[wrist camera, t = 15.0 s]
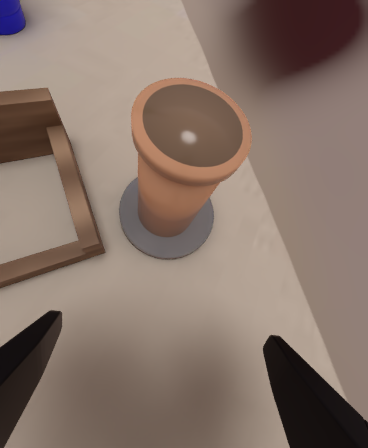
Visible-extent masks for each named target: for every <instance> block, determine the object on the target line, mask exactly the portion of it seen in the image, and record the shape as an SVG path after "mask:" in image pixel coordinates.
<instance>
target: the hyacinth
mask: <svg viewBox="0 0 368 448" xmlns="http://www.w3.org/2000/svg"><path fill="white" fill-rule="evenodd" d="M24 26H25V18H24V15H23V12H22V8H21V5H20V1H19V0H0V35H9V34H14V33H17V32H19V31H21V30H22V29H23V28H24Z"/></svg>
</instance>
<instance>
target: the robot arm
mask: <svg viewBox="0 0 368 448" xmlns="http://www.w3.org/2000/svg"><path fill="white" fill-rule="evenodd" d="M61 329H62V312H61V311H54V310H51V311H49V312H47V313H46V314H44V315H43V316H42V317H40V318H39V319H38V320H36V321H35V322H34V323H32V324H31V325H30V326H28V327H27V328H26V329H24V330H23V331H22V332H20V333H19V334H18V335H16V336H15V337H14V338H12V339H11V340H9V341H8V342H7V343H5V344H4V345H3V346H1V347H0V448H4V447H5V445H6V443H7V441H8V439H9V437H10V435H11V433H12V432H13V430H14V428H15V426H16V424H17V422H18V420H19V418H20V417H21V415H22V413H23V411H24V409H25V407H26V405H27V403H28V402H29V400H30V398H31V396H32V394H33V392H34V390H35V388H36V387H37V385H38V383H39V381H40V379H41V377H42V375H43V373H44V370H45V368H46V366H47V363H48V361H49V358H50V356H51V354H52V351H53V349H54V346H55V344H56V342H57V339H58V337H59V334H60V332H61ZM263 354H264V358H265V362H266V367H267V371H268V376H269V380H270V385H271V388H272V392H273V396H274V399H275V402H276V405H277V408H278V411H279V415H280V418H281V421H282V424H283V427H284V430H285V434H286V437H287V440H288V443H289V446H290V448H368V422H367V421H366V420H364V419H363V417H362V416H361V415H360V414H359V413H358V412H357V411H356V410H355V409H354V408H353V407H352V406H351V405H350V404H349V403H348V402H347V401H346V400H345V399H343V398H342V397H341V396H340V395H339V394H338V393H337V392H336V391H335V390H334V389H333V388H332V387H331V386H330V385H329V384H328V383H327V382H326V381H325V380H324V379H323V378H322V377H321V376H320V375H319V374H318V373H317V372H316V371H315V370H314V369H313V368H312V367H311V366H310V365H309V364H308V363H307V362H306V361H305V360H304V359H303V358H302V357H301V356H300V355H299V354H298V353H296V352H295V351H294V350H293V349H292V348H291V347H290V346H289V345H288V344H287V343H286V342H285V341H284V340H283V339H282V338H281V337H280V336H276V335H270V336H269V338H268V339H267V341H266V343H265V344H264V346H263Z"/></svg>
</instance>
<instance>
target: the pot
mask: <svg viewBox="0 0 368 448" xmlns="http://www.w3.org/2000/svg"><path fill="white" fill-rule="evenodd" d="M131 125H132V138H133V142H134V145H135V148H136V150H137V151H138V217H139V220H140V222H141V223H142V225H143V226H144V227H145V228H146V229H147V230H148V231H149V232H151V233H152V234H154V235H157V236H160V237H173V236H177V235H179V234H181V233H182V232H184V231H185V230H186V229H187V228H188V227H189V225H190V224H191V222H192V221H193V220H194V218H195V217H196V215H197V214H198V212H199V211H200V210H201V208H202V207H203V205H204V204H205V203H206V201H207V200H208V198H209V197H210V196H211V194H212V193H213V191H214V190H215V189H216V187H217V186H218V184H219V183H220V182H222V181H224V180H226V179H227V178H229V177H230V176H231V175H232V174H234V172H235V171H236V170H237V169H238V168H239V166H240V165H241V164H242V163H243V161H244V160H245V158H246V157H247V155H248V153H249V151H250V147H251V140H252V136H251V129H250V125H249V123H248V120H247V118H246V117H245V115H244V113H243V111H242V110H241V109H240V107H239V106H238V105H237V104H236V103H235V102H234V101H233V100H232V99H231V98H230V97H229V96H227V95H226V94H225V93H223V92H222V91H220V90H219V89H217V88H215V87H213V86H211V85H209V84H206V83H204V82H201V81H197V80H193V79H186V78H170V79H164V80H161V81H157V82H155V83H153V84H151V85H149V86H148V87H146V88H145V89H144V90H143V91H141V92H140V94H139V95H138V96H137V98H136V100H135V101H134V104H133V107H132V113H131Z"/></svg>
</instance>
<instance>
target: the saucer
mask: <svg viewBox="0 0 368 448" xmlns="http://www.w3.org/2000/svg"><path fill="white" fill-rule="evenodd" d="M119 213H120V220H121V225H122V228H123V231H124V233H125V235H126V237H127V238H128V239H129V241H130V242H131V243H132V244H133V245H134V246H135V247H136V248H137V249H138V250H140V251H141V252H143V253H145V254H147V255H149V256H152V257H155V258H160V259H176V258H181V257H184V256H186V255H188V254H190V253H192V252H193V251H195V250H196V249H197V248H199V247H200V246H201V245H202V244H203V243H204V242H205V240H206V239H207V238H208V236H209V234H210V232H211V229H212V226H213V220H214V211H213V206H212V203H211V200H210V198H208V200H207V201H206V203H205V204H204V205H203V207H202V208H201V210H200V211H199V212H198V214H197V215H196V217H195V218H194V220H193V221H192V222H191V224H190V225H189V227H188V228H187V229H186V230H185V231H184V232H182V233H181V234H179V235H177V236H173V237H160V236H157V235H154V234H152V233H151V232H149V231H148V230H147V229H146V228H145V227H144V226H143V225H142V223H141V222H140V220H139V217H138V177H137V178H136V179H134V180H133V181H132V182H131V183H130V184H129V185H128V187H127V188H126V189H125V191H124V193H123V195H122V198H121V201H120V208H119Z"/></svg>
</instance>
